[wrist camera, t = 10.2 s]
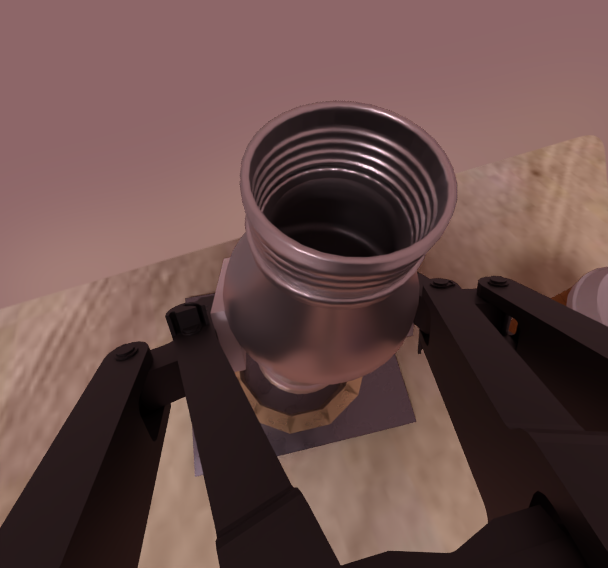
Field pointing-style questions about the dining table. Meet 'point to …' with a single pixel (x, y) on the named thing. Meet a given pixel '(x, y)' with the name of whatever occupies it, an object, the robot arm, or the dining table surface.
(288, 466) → the dining table surface
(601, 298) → the disposable coffee cup
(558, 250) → the dining table surface
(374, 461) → the dining table surface
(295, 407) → the collar stand
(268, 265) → the plastic bottle
